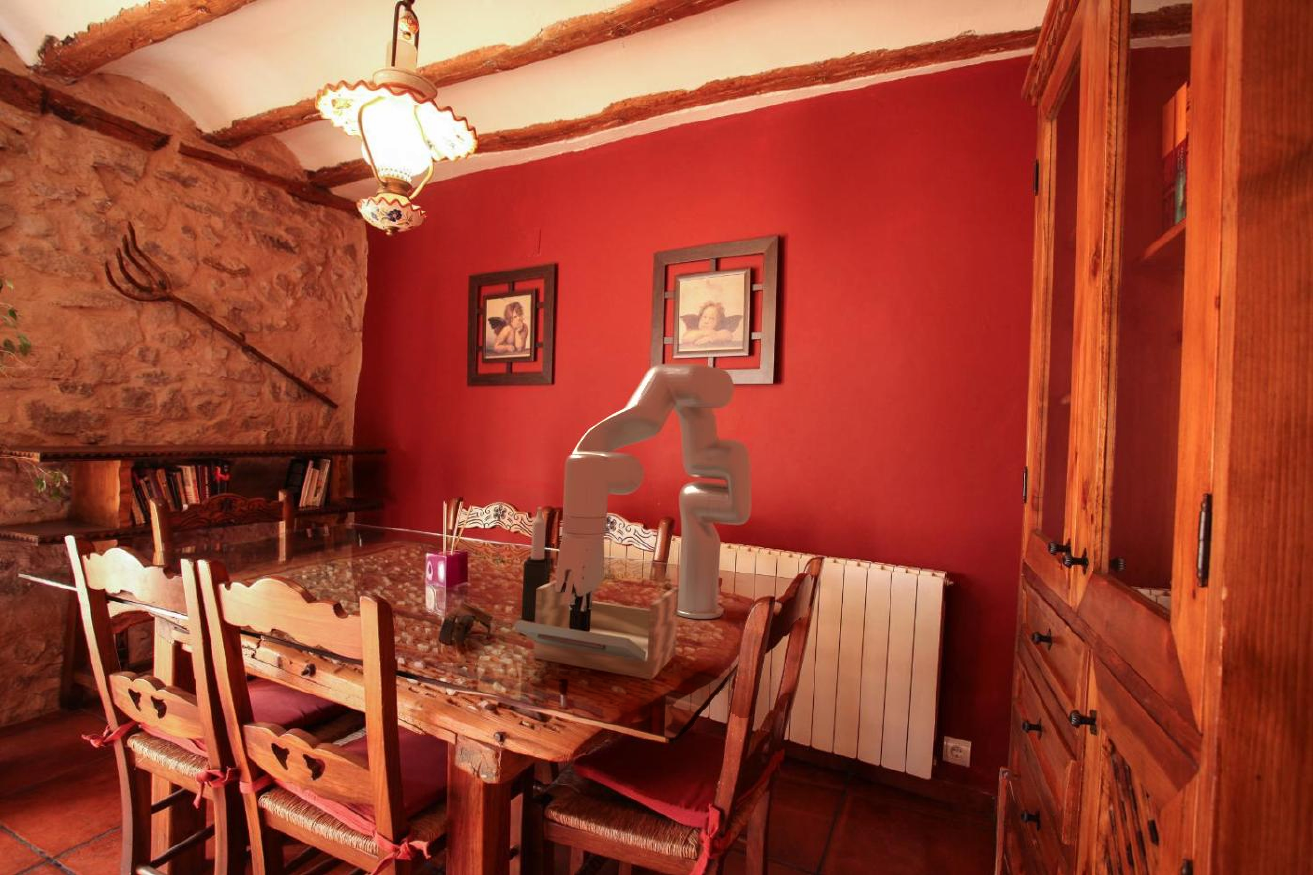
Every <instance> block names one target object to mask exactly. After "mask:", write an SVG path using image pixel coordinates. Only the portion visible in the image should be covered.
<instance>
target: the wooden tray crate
mask: <svg viewBox="0 0 1313 875" xmlns="http://www.w3.org/2000/svg"><path fill="white" fill-rule="evenodd" d="M555 585H556V579H555V580H553V581H550V583H548V584H545V585H543V586H541V587H539V588H537V589H536V610H535V621H534V623H537V624H543V625H549V626H556V627H562V628H568V629H569V623H570V610H569V604H564V596H565V592H564V593H561V594H558V593H557V592H556V590H555ZM678 595H679V587H675V586H673V587H672V588H670V589H669V590H668V591H666V592H665V593H663V595H661V596H660V597H658V598H657V599H655V600H654V601H653V602H651V603H650V604H649V608H644V607H637V606H636V607H635V606H631V605H623V604H617V603H608V602H602V601H594V600H593V602H592V607H591V608H588V609H591V619H590V631H589V632H592V633H598V634H605V635H611V636H617V637H623V638H628V639H630V640H631V641H632V642H634V643H635V644H636V645H638V646H639V647H640V648H642V649H643V650H644V651H645V652H646V657H645V661H642V660H636V659H630V658H625V657H619V656H613V655H607V654H602V653H596V652H590V651H584V650H579V649H573V648H567V647H561V646H556V645H550V644H544V643H539V642H538V641H536V640H534V639H533V652H532V654H533V656H532V657H533V659H536V660H542V661H547V662H548V661H549V662H551V663H552V662H554V663H559V664H563V665H564V664H565V665H568V666H575V667H580V668H584V669H585V668H586V669H590V670H597V671H603V672H608V673H613V674H619V675H624V676H630V677H636V678H640V679H645V680H646V679H647V680H653V679H654V678H655V677H656V676H657V675H658V674H659V673H660V671H661V670H663V668H665V666H666V665H667V664H668V663H669V662H670V661H671V659H672V658H673V657H674V656H675V655H676V650H677V649H676V648H677V628H678V615H677V612H678Z"/></svg>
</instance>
